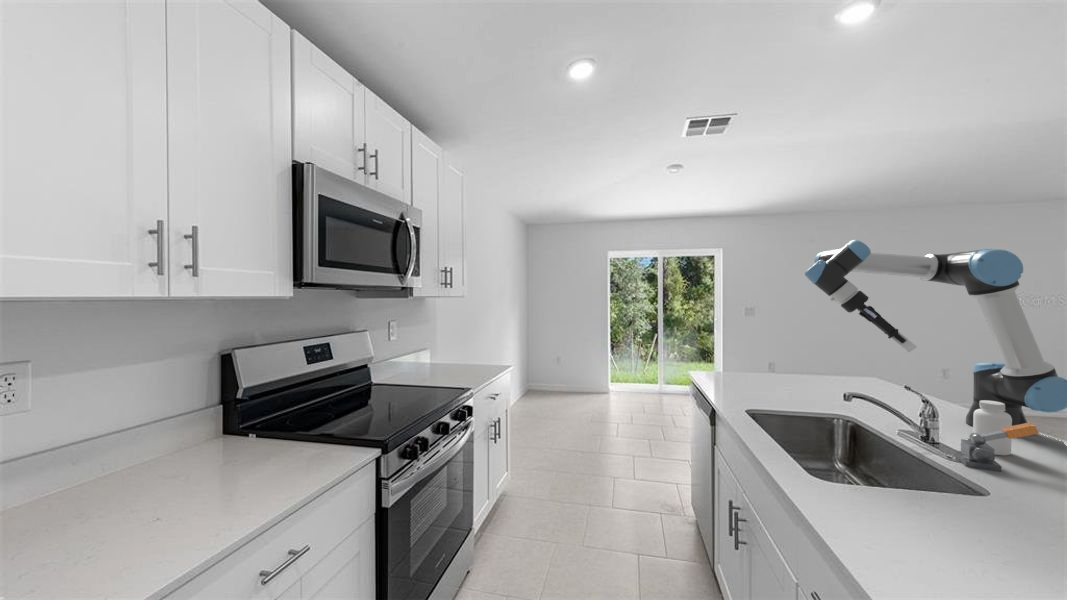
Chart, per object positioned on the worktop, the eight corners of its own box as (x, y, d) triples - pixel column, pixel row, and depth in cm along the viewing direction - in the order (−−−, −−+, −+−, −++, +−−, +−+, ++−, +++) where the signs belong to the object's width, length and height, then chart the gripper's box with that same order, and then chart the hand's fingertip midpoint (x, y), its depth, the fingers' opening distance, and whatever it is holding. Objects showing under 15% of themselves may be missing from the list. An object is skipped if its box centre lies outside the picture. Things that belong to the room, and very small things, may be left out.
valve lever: (972, 437, 119) (1034, 425, 113) (967, 434, 121) (1028, 421, 115) (976, 445, 118) (1039, 434, 112) (972, 442, 121) (1033, 430, 115)
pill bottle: (966, 447, 131) (967, 400, 130) (982, 444, 133) (983, 398, 133) (1000, 457, 123) (1002, 407, 123) (1017, 454, 126) (1019, 404, 125)
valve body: (965, 466, 118) (966, 446, 117) (954, 455, 125) (954, 436, 125) (1001, 471, 114) (1001, 450, 114) (987, 460, 122) (987, 440, 121)
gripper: (837, 304, 150) (896, 354, 143) (842, 305, 139) (907, 360, 131) (855, 289, 148) (917, 339, 140) (862, 289, 136) (930, 344, 129)
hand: (912, 349), depth 136 cm, fingers closed
